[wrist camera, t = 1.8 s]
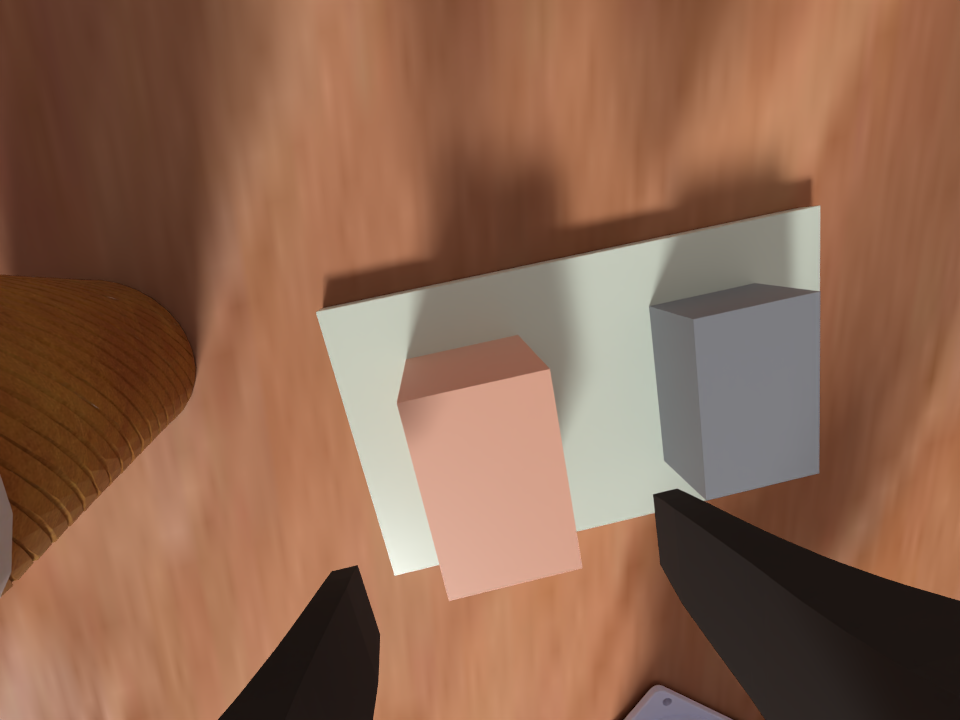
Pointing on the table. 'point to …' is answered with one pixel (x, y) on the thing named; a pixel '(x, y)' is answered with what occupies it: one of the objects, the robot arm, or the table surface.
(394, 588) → the table surface
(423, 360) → the terracotta brick
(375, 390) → the baseplate
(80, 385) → the disposable coffee cup
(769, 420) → the charcoal brick
